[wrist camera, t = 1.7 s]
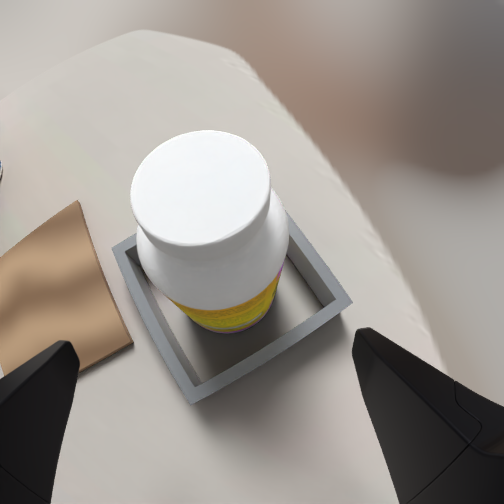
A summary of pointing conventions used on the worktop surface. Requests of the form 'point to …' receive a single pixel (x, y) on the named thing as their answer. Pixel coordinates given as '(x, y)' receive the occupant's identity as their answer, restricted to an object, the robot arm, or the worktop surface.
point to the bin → (195, 390)
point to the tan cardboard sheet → (57, 295)
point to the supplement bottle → (210, 228)
